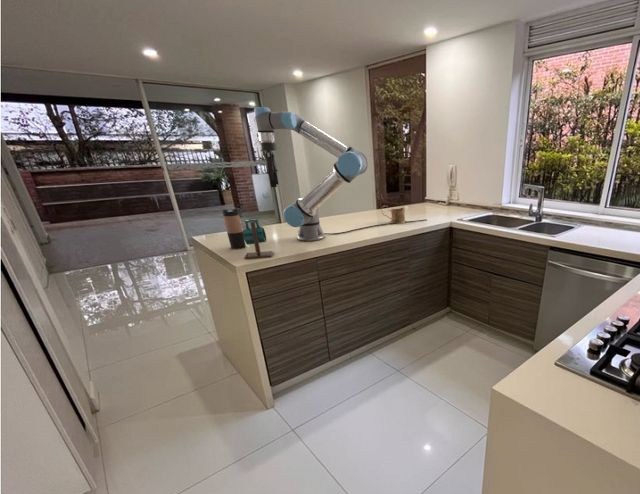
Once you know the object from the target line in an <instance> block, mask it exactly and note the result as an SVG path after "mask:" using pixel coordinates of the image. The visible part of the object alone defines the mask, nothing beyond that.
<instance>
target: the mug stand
mask: <svg viewBox="0 0 640 494" xmlns="http://www.w3.org/2000/svg"><path fill="white" fill-rule="evenodd" d="M249 224H250V228H251V229H252V234H253V239H254V244H253V245H254V248H255V251H254V252H247V253H246V255H245V256H244V259H245V260H252V259H253V260H254V259H264V258H272V256H273V253H274V252H273V250H265V251H261V247H260V243H259V242H258V237H257V232H256V227H257V226H256V222H254V221H252V222H249Z"/></svg>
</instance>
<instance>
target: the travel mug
mask: <svg viewBox="0 0 640 494" xmlns="http://www.w3.org/2000/svg"><path fill="white" fill-rule="evenodd" d="M239 212H240V211H239V209H236V208H235V209H231V210H228V209H224V210H222V217H223V221H224V225H225V230H226V233H227V238H228V241H229V244H230V248H231V249H233V250H240V249H244V248H246V242H245V240H244V236H243V226H242V222H241V216H240V213H239Z"/></svg>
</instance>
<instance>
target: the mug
mask: <svg viewBox="0 0 640 494" xmlns="http://www.w3.org/2000/svg"><path fill="white" fill-rule="evenodd" d="M384 207H385V208H387V211H389V212H390V213H391V215H390V216H391V217H389V216H388V215H387V214H384V213H383V208H384ZM380 209H381V214H382V216H384V217H387V218H388V219H389V220H390V219H391V220H390V223H396V224H395V225H402V224H406V223H405V222H407V221H406V219H405V218H406V214H405V213H406V211H405V206H403V207H399V208H391V209H389V206H388V205H383V206H382V208H380Z"/></svg>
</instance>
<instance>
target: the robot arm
mask: <svg viewBox="0 0 640 494" xmlns="http://www.w3.org/2000/svg"><path fill="white" fill-rule="evenodd" d="M253 111H254V120H255V123H256V130H257V134H256V135H257V136H256V137H258V140H259V142H260V143H259V146H260V151H265V154H264V157H265V160H266V161H265V162H266V166H267V171H266V174H267V175H268V177H269V183H270V187H271V188H277V185H279V178H278V174H277V173H278V172H279V171H278V169H277V167H276V160H275V154H274V152H273V151H277V144H276V135H275V132H274V130H289V131H294V132H295V133H297V134H299V135H300V136H302V137H304V138H305V139H307V140H309V141H310V142H311V143H313V144H315V145H317V146H318V147H320V148H321V149H323V150H324V151H327V152H328V153H329V154H330V155H333V156H334V157H335V158H337V160H336V162H334V164H332V165H333V166H332V170H331V171H330V172H329V173H327V175H326V176H325V177H324V178H322V180H320V181H319V182H318V183H317V184H316V185H315V186H314V187H313V188H312V189H311V190H310V191H308V193H306V195H305V196H303V197H298V198H297V199H295V201H294V202H293V203H291V204H290V205H288V206H287V205H286V207H285V208H284V209H283V213H282V214H283V219H284V222H285V223H287V225H288V226H290V227H292V228H298V230H297V240H298V241H302V242H316V241H320V240H323V239H324V238H325V236H327V235H328V236H329V235H330V236H333V235H341V234H347V233H350V232H351V233H352V232H354V231H358V230H359V231H360V230H364V229H368V228H374V227H380V226H387V225H397V224H396V223H380V224H375V225H370V226H369V225H368V226H364V227H360V228H355V229H351V230H346V231H342V232H332V233H331V232H324V230H323V229H322V227H321V224H320V215H319V214H320V213H319V208H320V207H321V206H322V205H323V204H324V203H325V202H326V201H327V200H328V199H329V198H330V197H332V195H333V194H335V193H336V192H337V191H338V190H339V189H341V188H342V186H343V185H345V184H351V182H352V181H354V180H355V179H356V178H357V177H358V176H360V175H362V174H364V173H366V171H367V170H368V167H369V161H368V158H367V156H366V155H365V154H364V153H363V152H361V151H359V150H357V149H355V148H354V147H352V146H347V145H346V144H344V143H342V142H341V141H339V140H337V139H336V138H334V137H332V136H331V135H329V134H327V133H326V132H325V131H323V130H321V129H320V128H318V127H316V126H315V125H313V124H312V123H310V122H308V121H307V120H305V119H304V117H302V116H301V115H299V114H296V113H293V112H292V111H271V109H270V108H269V107H265V106H264V107H262V106H258V107H255V108H254V109H253ZM424 221H425V222H426V221H428V220H427V218H425V219H419V220H418V219H417V220H409V221H406V222H405V223H404V224H407V223H416V222H424Z"/></svg>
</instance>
